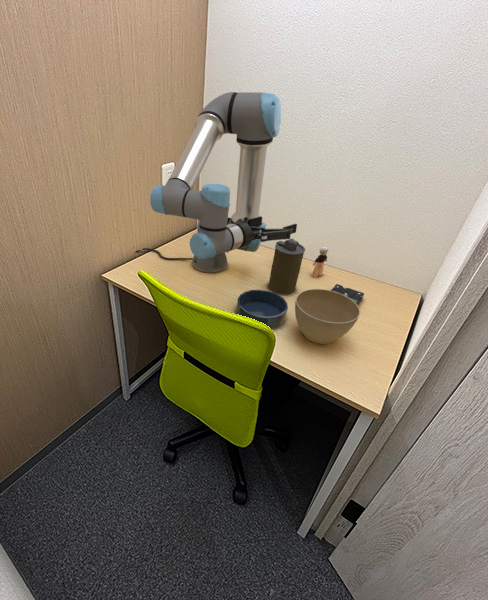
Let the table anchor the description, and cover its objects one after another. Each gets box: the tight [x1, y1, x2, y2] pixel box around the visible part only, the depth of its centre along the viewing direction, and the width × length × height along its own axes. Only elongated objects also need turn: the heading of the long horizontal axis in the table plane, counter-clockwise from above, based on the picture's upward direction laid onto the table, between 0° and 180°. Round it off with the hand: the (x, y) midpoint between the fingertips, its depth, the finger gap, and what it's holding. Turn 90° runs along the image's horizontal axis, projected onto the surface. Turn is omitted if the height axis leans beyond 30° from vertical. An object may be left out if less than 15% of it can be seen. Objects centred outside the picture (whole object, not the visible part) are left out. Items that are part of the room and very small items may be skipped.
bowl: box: [235, 289, 289, 330], centre depth 115 cm, size 17×17×5 cm
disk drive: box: [330, 283, 365, 306], centre depth 122 cm, size 10×3×15 cm
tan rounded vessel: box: [294, 288, 361, 345], centre depth 104 cm, size 18×18×12 cm
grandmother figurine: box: [311, 246, 329, 278], centre depth 136 cm, size 8×4×13 cm, turn 131°
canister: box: [267, 238, 306, 296], centre depth 125 cm, size 11×10×20 cm
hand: (277, 224), depth 112 cm, fingers open, 13 cm apart
